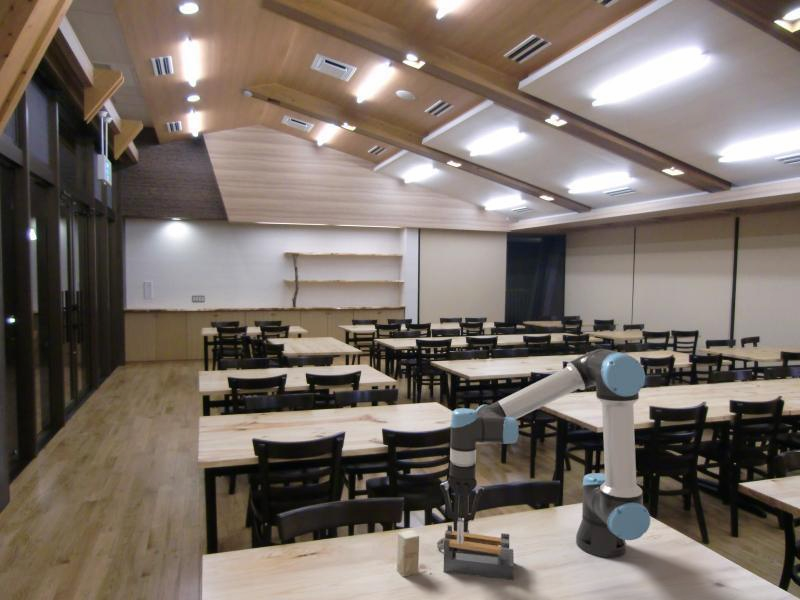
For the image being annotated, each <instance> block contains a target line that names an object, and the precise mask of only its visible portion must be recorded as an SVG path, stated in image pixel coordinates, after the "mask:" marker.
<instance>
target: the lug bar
mask: <svg viewBox="0 0 800 600" xmlns="http://www.w3.org/2000/svg"><path fill="white" fill-rule="evenodd" d="M452 525H453V524H452ZM452 525H451V524H447V529H446V530H449V531H446V530H445V532H446V538H447V539H444V550H443V559H444V558H446V559H452V557H453V552H454V547H449V539H452V538H451V531H452ZM454 540H455V539H454Z"/></svg>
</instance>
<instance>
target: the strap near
mask: <svg viewBox="0 0 800 600" xmlns="http://www.w3.org/2000/svg"><path fill="white" fill-rule="evenodd" d="M443 538H444V537H443ZM444 539H447V538H444ZM444 539H443V546H444ZM449 547H454V548H461V549H467V550H474V551H481V552H487V553H494V554H501V548H508V547H507V546H503V547H502V546H500V545H498V546H495V545H488V544H481V543H474V542H468V541H464V542H463V544H461V540H460V543H459V544H457V540H454V539H449Z"/></svg>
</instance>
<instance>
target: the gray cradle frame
mask: <svg viewBox="0 0 800 600" xmlns="http://www.w3.org/2000/svg"><path fill="white" fill-rule="evenodd" d="M500 534H501V535H500V538H504V537H505V538H507V539H508V540H507V539H501V546H502V547H503V546H507V547H508V548H501V554H494V553H487V552H481V551H474V550H467V549H461V548H454V552H453V557H452V559H446V558H444V557H443V572H444V573H451V574H457V575H467V576H474V577H476V576H477V577H484V578H491V579H492V578H493V579H500V580H508V581H509V580H510V581H514V579H515V578H514V575H515V572H514V571H515V567H514V566H515V563H514V557H515V556H514V549H513V548H512V549H511V548H510V533H504V532H501V533H500ZM464 541H466V540H464ZM468 542H473V541H468ZM474 543H479V542H474ZM481 544H486V543H481ZM488 545H493V544H488ZM495 546H499V545H495Z"/></svg>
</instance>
